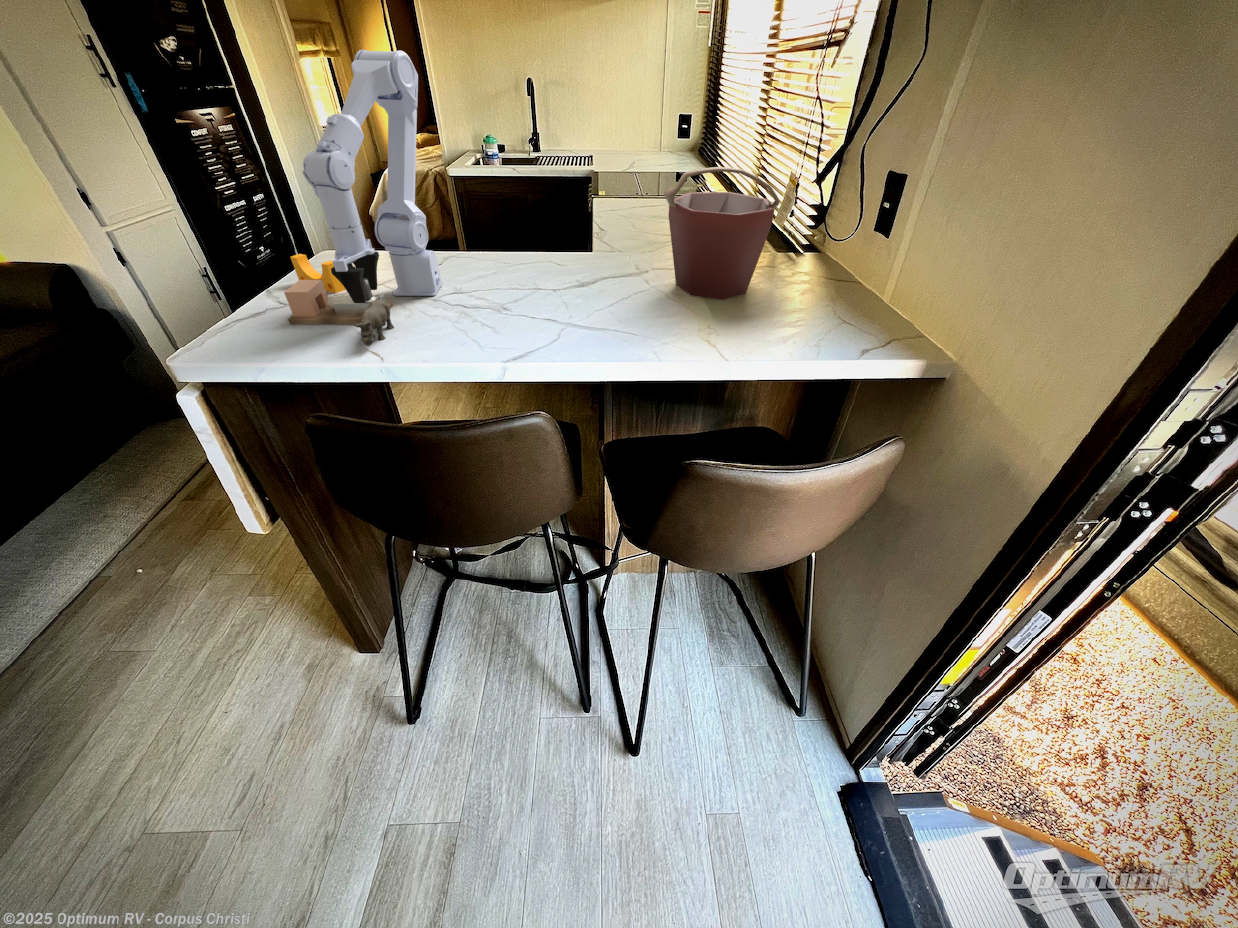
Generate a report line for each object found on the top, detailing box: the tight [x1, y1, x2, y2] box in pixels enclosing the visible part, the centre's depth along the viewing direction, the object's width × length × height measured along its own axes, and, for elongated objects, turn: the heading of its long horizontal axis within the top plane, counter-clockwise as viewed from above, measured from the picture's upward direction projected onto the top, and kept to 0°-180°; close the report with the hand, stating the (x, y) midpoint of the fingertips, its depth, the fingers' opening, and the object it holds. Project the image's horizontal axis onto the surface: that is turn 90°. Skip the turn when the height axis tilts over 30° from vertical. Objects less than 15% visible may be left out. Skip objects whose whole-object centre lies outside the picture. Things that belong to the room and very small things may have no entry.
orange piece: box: [290, 253, 347, 294], centre depth 119 cm, size 12×4×6 cm, turn 64°
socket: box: [283, 279, 329, 317], centre depth 105 cm, size 4×7×5 cm, turn 2°
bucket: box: [663, 166, 780, 301], centre depth 116 cm, size 24×22×25 cm
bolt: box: [328, 278, 376, 309], centre depth 105 cm, size 9×2×6 cm, turn 92°
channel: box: [333, 294, 387, 314], centre depth 106 cm, size 9×5×2 cm, turn 92°
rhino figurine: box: [352, 299, 395, 347], centre depth 97 cm, size 4×14×6 cm, turn 3°
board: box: [287, 300, 394, 325], centre depth 107 cm, size 18×10×1 cm, turn 92°
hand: (366, 296), depth 105 cm, fingers open, 7 cm apart
